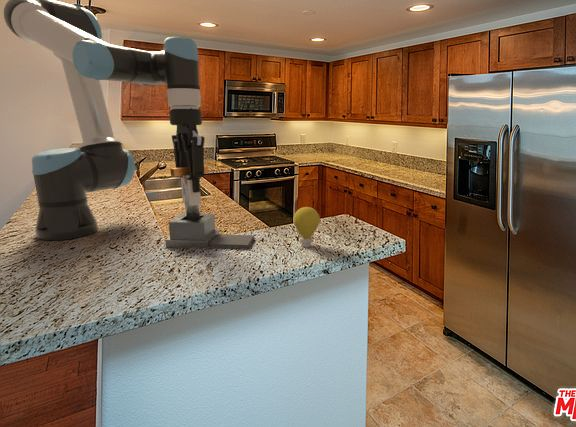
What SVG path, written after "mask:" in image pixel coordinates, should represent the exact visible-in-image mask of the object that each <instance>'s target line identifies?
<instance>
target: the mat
mask: <svg viewBox="0 0 576 427" xmlns="http://www.w3.org/2000/svg"><path fill="white" fill-rule="evenodd" d="M254 240H255V235H253V234H252V235H251V234H250V235H249V234H225V233H224V234H222V233H220V234H218V235H217V236H216V237H215V239H214V240H213V241H212V242H211V243H210V244H209V245H210V248H211V249H212V248H213V249H237V250H238V249H240V250H241V249H242V250H243V249H244V250H249V248H250V246H252V243H253V242H254ZM210 248H209V249H210Z"/></svg>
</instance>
